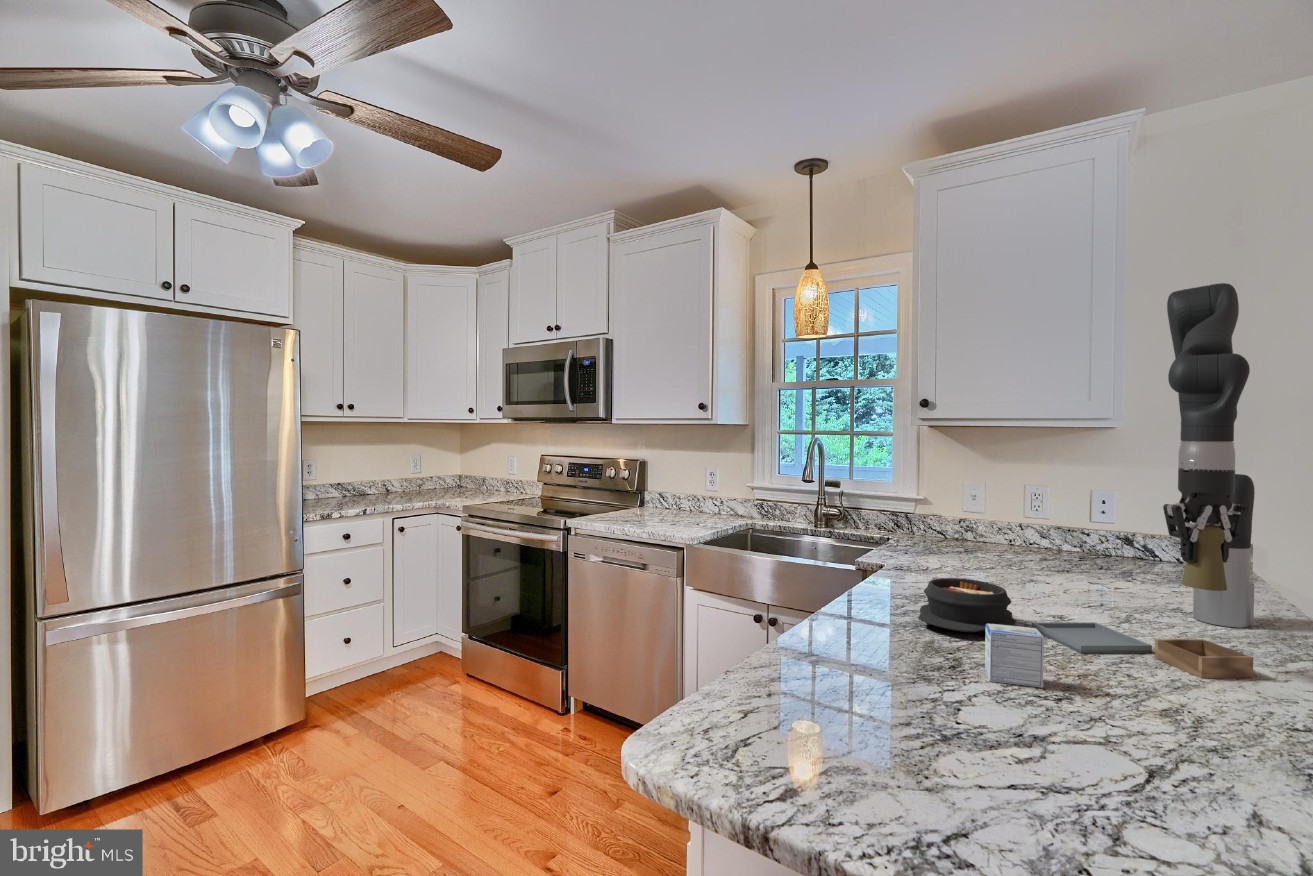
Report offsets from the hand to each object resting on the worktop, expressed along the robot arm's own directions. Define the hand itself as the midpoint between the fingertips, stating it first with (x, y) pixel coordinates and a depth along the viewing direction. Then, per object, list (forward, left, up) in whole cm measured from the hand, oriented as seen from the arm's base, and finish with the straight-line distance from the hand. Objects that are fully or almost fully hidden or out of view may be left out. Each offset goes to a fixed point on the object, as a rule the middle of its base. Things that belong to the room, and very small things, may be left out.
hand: (1204, 561), depth 108 cm
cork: (0, 0, -5) cm, 5 cm away
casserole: (+29, -25, -19) cm, 43 cm away
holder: (0, 0, -19) cm, 19 cm away
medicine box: (+38, +5, -19) cm, 43 cm away
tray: (+10, -14, -19) cm, 26 cm away
